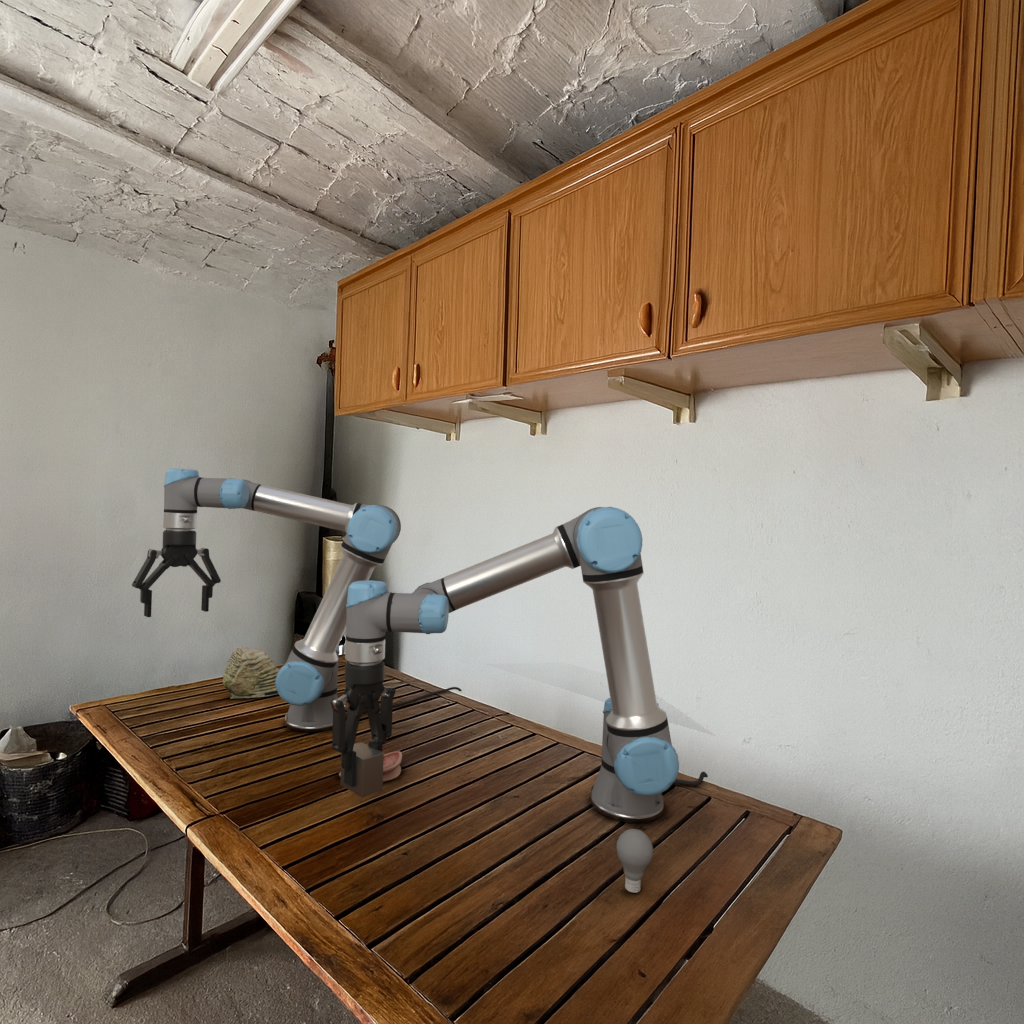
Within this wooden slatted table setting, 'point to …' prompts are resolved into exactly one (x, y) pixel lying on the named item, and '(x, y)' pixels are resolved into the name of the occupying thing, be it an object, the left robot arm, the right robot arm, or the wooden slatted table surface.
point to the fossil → (250, 674)
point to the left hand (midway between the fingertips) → (177, 613)
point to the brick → (366, 771)
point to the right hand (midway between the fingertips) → (361, 779)
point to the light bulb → (634, 857)
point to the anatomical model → (391, 765)
